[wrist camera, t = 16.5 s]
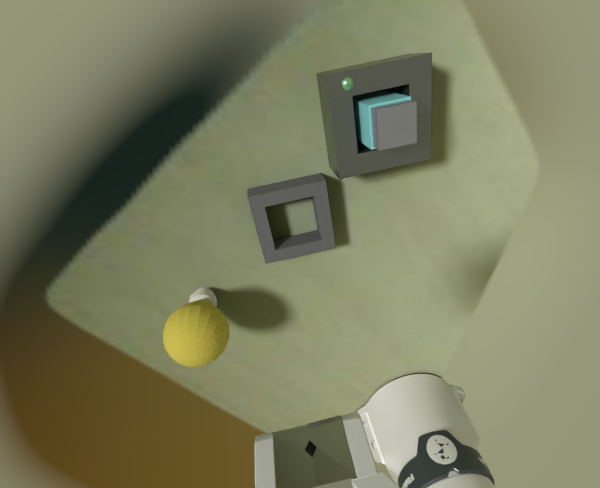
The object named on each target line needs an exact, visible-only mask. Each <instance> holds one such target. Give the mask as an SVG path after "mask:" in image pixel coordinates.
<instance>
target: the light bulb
mask: <svg viewBox="0 0 600 488" xmlns="http://www.w3.org/2000/svg"><path fill="white" fill-rule="evenodd" d="M163 340H164V346H165V349H166V350H167V352H168V354H169V355H170V357H171V358H172V359H174V360H175V361H176V362H177V363H179V364H182V365H184V366H189V367H200V366H203V365H207V364H209V363H210V362H212V361H214V360H215V359H217V358H218V357H219V356H220V354H221V353H222V352H223V351H224V349H225V347H226V345H227V342H228V340H229V324H228V322H227V320H226V318H225V317H224V315H223V314H222V313H221V311H220V310H219V309H218V308H217V298H216V296H215V295H214V293H213V291H212V290H211V289H209V288H199V289H198V290H197V291H196V292H195V293H193V294H192V295H191V296H190V299H189V303H187V304H186V305H184V306H183V307H181V308H180V309H178V310H177V311H175V312H174V313H172V315H171V316H170V317H169V318H168V320H167V322H166V324H165V328H164V332H163Z"/></svg>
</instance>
